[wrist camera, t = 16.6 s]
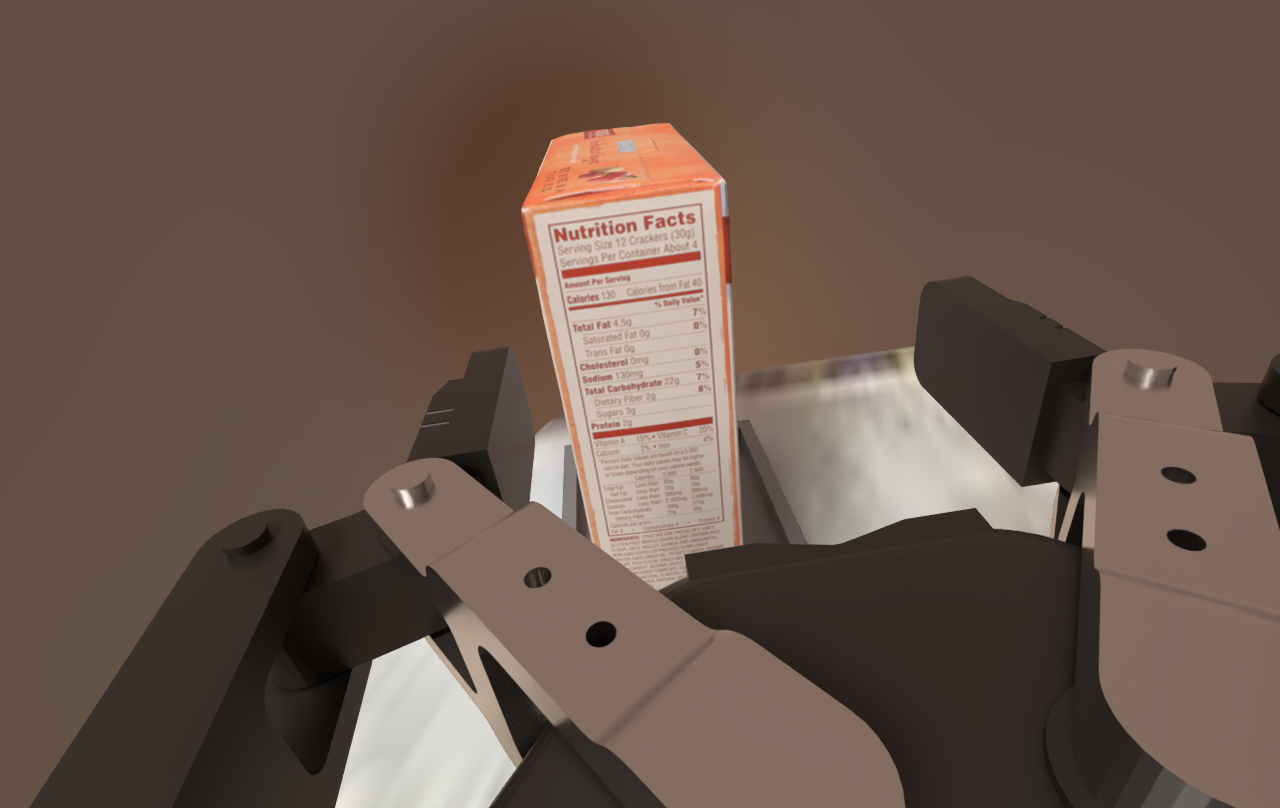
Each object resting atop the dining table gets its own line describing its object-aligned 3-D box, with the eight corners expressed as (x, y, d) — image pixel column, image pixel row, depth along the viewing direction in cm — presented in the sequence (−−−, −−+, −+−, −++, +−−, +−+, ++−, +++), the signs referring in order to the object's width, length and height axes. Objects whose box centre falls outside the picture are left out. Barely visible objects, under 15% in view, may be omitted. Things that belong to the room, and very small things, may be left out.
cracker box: (607, 496, 39) (546, 133, 28) (704, 484, 39) (677, 117, 28) (612, 700, 26) (507, 194, 16) (753, 683, 26) (738, 166, 16)
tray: (749, 441, 43) (748, 419, 42) (860, 693, 26) (863, 665, 25) (569, 467, 43) (564, 445, 42) (563, 737, 26) (555, 710, 25)
